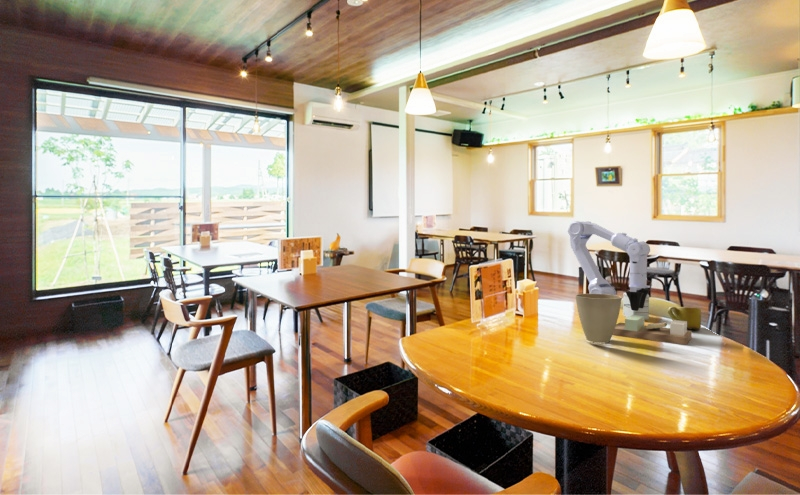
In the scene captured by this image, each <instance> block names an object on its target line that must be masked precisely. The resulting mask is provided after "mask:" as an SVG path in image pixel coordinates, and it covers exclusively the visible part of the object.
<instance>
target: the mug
mask: <svg viewBox="0 0 800 495" xmlns="http://www.w3.org/2000/svg"><path fill="white" fill-rule="evenodd" d="M667 314H668V315H669V317H670V318H671V319H672V321H673V320H679V321H687V330H695V331H696V330H697V331H700V329H701V326H702V309H700V308H699V307H690V306H679V307H676V306H669V307H668V309H667Z"/></svg>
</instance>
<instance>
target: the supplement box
mask: <svg viewBox="0 0 800 495" xmlns="http://www.w3.org/2000/svg"><path fill="white" fill-rule="evenodd" d="M622 296H623V297H622V298H623V299H622V304H623V305H622V316H623V317H624V318H628V317H630V316H631V315H640V316H644V321H646V320H649V319H650V314H649V313H650V295H649V294H647V296H646V299H645V303H644V307H643V308H639V310H638V311H634V310H632V309H631V305H630V301H629V298H628V296H627V294H626V292H623V294H622Z"/></svg>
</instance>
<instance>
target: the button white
mask: <svg viewBox="0 0 800 495" xmlns="http://www.w3.org/2000/svg"><path fill="white" fill-rule="evenodd" d="M669 328H670V335H678V336H684V335H685V334H686V333H687V331H688V329H687V321H679V320H672V321H671V322H670V324H669Z"/></svg>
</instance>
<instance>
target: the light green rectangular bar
mask: <svg viewBox="0 0 800 495" xmlns="http://www.w3.org/2000/svg"><path fill="white" fill-rule="evenodd" d="M624 323H625V330H630V331H638V330H640V329H641V328H642V327H644V325H645V320H644V316H640V315H631V316H630V317H628V318H627V317H625V319H624Z"/></svg>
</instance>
